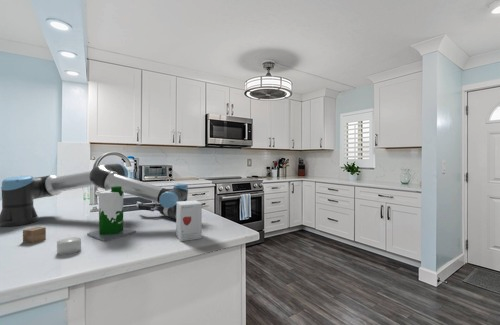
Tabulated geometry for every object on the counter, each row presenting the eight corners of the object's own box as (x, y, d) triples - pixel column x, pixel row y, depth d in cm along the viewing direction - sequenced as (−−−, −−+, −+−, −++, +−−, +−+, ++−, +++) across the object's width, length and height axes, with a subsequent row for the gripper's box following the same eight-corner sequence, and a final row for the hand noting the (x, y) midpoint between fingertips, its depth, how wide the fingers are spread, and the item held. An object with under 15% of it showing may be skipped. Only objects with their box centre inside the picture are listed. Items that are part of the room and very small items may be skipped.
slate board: (87, 235, 107) (87, 233, 107) (119, 227, 119) (119, 225, 119) (103, 241, 99) (103, 239, 99) (136, 232, 111) (136, 230, 111)
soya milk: (118, 234, 105) (118, 188, 105) (95, 235, 104) (95, 188, 104) (126, 228, 114) (125, 185, 114) (105, 229, 113) (104, 185, 113)
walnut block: (22, 242, 98) (22, 229, 98) (36, 238, 103) (36, 226, 103) (32, 243, 97) (32, 230, 97) (45, 239, 102) (45, 227, 101)
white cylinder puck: (53, 252, 88) (53, 241, 88) (75, 246, 94) (75, 236, 94) (62, 256, 84) (61, 245, 84) (84, 250, 90) (84, 239, 90)
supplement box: (180, 242, 99) (180, 205, 99) (175, 235, 107) (175, 201, 107) (202, 238, 104) (202, 203, 103) (196, 232, 112) (196, 199, 111)
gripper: (147, 219, 129) (127, 211, 142) (185, 212, 149) (165, 206, 162) (148, 205, 129) (128, 198, 142) (186, 200, 149) (166, 195, 162)
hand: (147, 202), depth 152 cm, fingers open, 13 cm apart
